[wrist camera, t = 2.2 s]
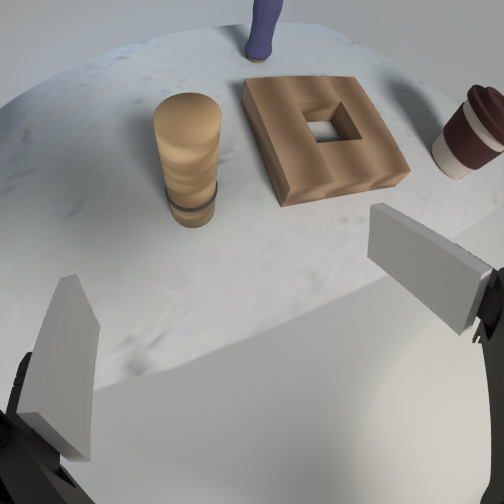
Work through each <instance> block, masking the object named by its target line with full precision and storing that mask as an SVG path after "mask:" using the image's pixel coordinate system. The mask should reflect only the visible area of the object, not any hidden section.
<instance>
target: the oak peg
mask: <svg viewBox="0 0 504 504" xmlns="http://www.w3.org/2000/svg"><path fill="white" fill-rule="evenodd" d="M220 124H221V110H220V108H219V106H218V104H217V103H216V102H215V101H214V100H213V99H211V98H210V97H208V96H205V95H203V94H199V93H181V94H177V95H174V96H171V97H169V98H167V99H166V100H164V101H163V102H162V103H161V104H160V105H159V106H158V107H157V108H156V110H155V112H154V115H153V125H154V130H155V135H156V140H157V146H158V151H159V155H160V160H161V165H162V170H163V174H164V179H165V184H166V185H165V191H166V195H167V199H168V201H169V202H170V206H171V210H172V214H173V217H174V219H175V220H176V221H177V222H178V223H179V224H180V225H182V226H184V227H188V228H197V227H201V226H203V225H205V224H206V223H208V222H209V221H210V219H211V218H212V216H213V214H214V207H215V197H216V194H217V180H216V176H217V162H218V149H219V136H220Z"/></svg>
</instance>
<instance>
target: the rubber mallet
mask: <svg viewBox="0 0 504 504" xmlns="http://www.w3.org/2000/svg"><path fill="white" fill-rule="evenodd" d="M282 5H283V0H254V5H253V21H252V27H251V32H250V37H249V40H248V42H247V44H246V46H245V52H246V54H247V58H248V59H249V60H251V61H253V62H263V61H265V60H266V59H267V58H268V57H269V56H270V55H271V52H272V37H273V33H274V29H275V25H276V22H277V20H278V17H279V15H280V12H281V9H282Z"/></svg>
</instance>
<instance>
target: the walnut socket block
mask: <svg viewBox="0 0 504 504" xmlns="http://www.w3.org/2000/svg"><path fill="white" fill-rule="evenodd" d="M241 102H242V104H243V107H244V109H245V112H246V115H247V117H248V120H249V122H250V125H251V127H252V130H253V133H254V135H255V138H256V140H257V143H258V146H259V148H260V151H261V154H262V156H263V159H264V162H265V164H266V167H267V170H268V172H269V175H270V178H271V180H272V183H273V186H274V189H275V192H276V194H277V197H278V200H279V203H280V205H281V207H286V206H291V205H296V204H301V203H306V202H311V201H316V200H321V199H327V198H332V197H337V196H343V195H348V194H354V193H359V192H365V191H371V190H376V189H382V188H388V187H394V186H396V185H397V184H398V183H399V182H400V181H401V180H402V179H403V178H404V177H405V176H406V175H407V174H408V173H409V172H410V171H411V170H410V168H409V166H408V164H407V162H406V160H405V158H404V156H403V154H402V153H401V151H400V149H399V147H398V145H397V144H396V142H395V140H394V138H393V136H392V135H391V133H390V131H389V130H388V128H387V126H386V124H385V123H384V121H383V120H382V118H381V116H380V115H379V113H378V111H377V110H376V108H375V107H374V105H373V104H372V102H371V100H370V99H369V97H368V96H367V94H366V93H365V91H364V90H363V88H362V87H361V85H360V84H359V83H358V81H357V80H356V78H355V77H340V76H287V77H266V78H252V79H245V81H244V87H243V93H242V99H241ZM317 121H331V122H332V124H333V126H334V128H335V129H336V131H337V133H338V135H339V137H340V139H341V141H335V142H324V143H317V142H316V140H315V138H314V136H313V134H312V132H311V130H310V128H309V126H308V124H307V122H317Z"/></svg>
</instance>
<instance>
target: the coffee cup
mask: <svg viewBox="0 0 504 504" xmlns="http://www.w3.org/2000/svg"><path fill="white" fill-rule="evenodd" d="M467 97H468V99H467V100H466V102H463V103H462V104H461V106H460V107H459V108H458V110H457V111H456V112H455V113H454V115H453V116H452V117H451V119H450V120H449V121H448V122H447V124H446V125H445V126H444V129H443V131H442V132H441V134H440V135H439V136H438V137H437V138H436V140H435V141H434V142H433V144H432V154H433V157H434V160H435V162H436V163H437V165H438V166H439V168H440V169H441V170H442V171H443V172H444V173H445V174H446V175H448V176H449V177H451V178H453V179H461V178H463V177H464V176H466V175H468V174H469V173H471V172H472V171H474V170H477V169H479V168H481V167H482V166H484V165H485V164H487V163H488V162H490V161H491V160H493V159H494V158H496V157H497V156H499V155H500V154H502V153H503V151H504V96H503V95H502V94H501V93H499V92H498V91H497V90H496V89H494V88H492V87H487V88H484V87H482V86H480V85H473V86H472V87H471V89H470V90H469V91H468V93H467Z"/></svg>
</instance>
